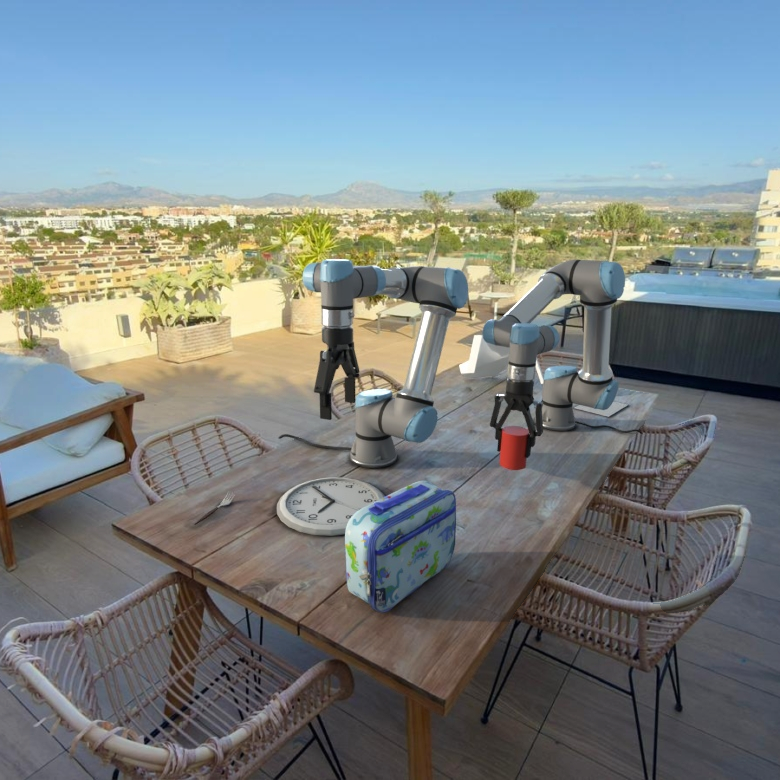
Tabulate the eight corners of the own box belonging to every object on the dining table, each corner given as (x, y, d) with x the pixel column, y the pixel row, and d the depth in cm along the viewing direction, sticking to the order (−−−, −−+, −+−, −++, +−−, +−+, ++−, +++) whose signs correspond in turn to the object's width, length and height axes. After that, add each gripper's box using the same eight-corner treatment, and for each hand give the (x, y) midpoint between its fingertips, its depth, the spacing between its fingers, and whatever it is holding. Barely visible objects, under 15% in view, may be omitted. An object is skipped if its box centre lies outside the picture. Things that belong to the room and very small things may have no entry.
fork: (190, 525, 132) (189, 518, 131) (229, 496, 146) (228, 490, 145) (198, 527, 131) (198, 520, 130) (237, 498, 145) (236, 491, 145)
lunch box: (374, 626, 100) (375, 530, 93) (338, 598, 107) (337, 508, 101) (459, 568, 117) (465, 484, 111) (424, 547, 124) (427, 467, 118)
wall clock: (392, 527, 129) (268, 531, 127) (391, 533, 130) (269, 537, 127) (383, 473, 158) (282, 475, 155) (383, 478, 158) (282, 480, 156)
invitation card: (608, 416, 214) (573, 407, 224) (608, 416, 214) (573, 408, 224) (628, 404, 229) (594, 396, 238) (628, 405, 229) (594, 397, 238)
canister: (502, 470, 151) (505, 435, 148) (496, 458, 159) (499, 425, 156) (529, 470, 152) (532, 435, 148) (521, 458, 159) (525, 425, 156)
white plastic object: (480, 421, 262) (459, 398, 238) (462, 347, 285) (440, 320, 260) (552, 397, 250) (537, 370, 226) (527, 322, 272) (511, 290, 248)
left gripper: (327, 337, 112) (329, 429, 118) (372, 319, 134) (371, 397, 141) (296, 334, 115) (300, 424, 121) (345, 317, 137) (346, 394, 143)
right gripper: (481, 376, 149) (476, 450, 156) (554, 388, 139) (545, 465, 146) (489, 370, 155) (484, 441, 162) (560, 381, 146) (552, 456, 153)
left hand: (338, 410), depth 131 cm, fingers open, 13 cm apart
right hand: (513, 452), depth 154 cm, fingers closed on canister, 8 cm apart
